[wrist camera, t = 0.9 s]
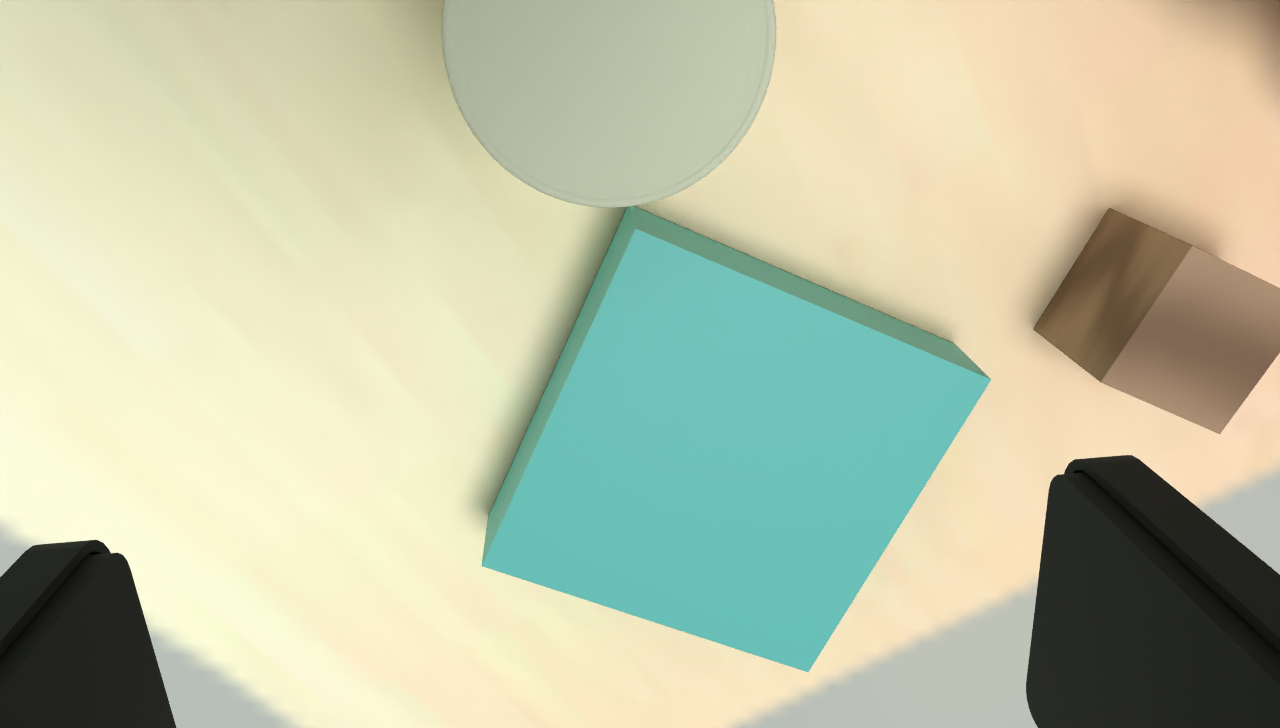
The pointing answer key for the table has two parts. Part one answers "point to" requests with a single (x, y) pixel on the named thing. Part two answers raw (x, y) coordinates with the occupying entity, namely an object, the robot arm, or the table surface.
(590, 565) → the teal base
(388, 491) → the table surface
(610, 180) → the can
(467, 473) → the table surface
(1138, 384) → the walnut cube
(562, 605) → the table surface
